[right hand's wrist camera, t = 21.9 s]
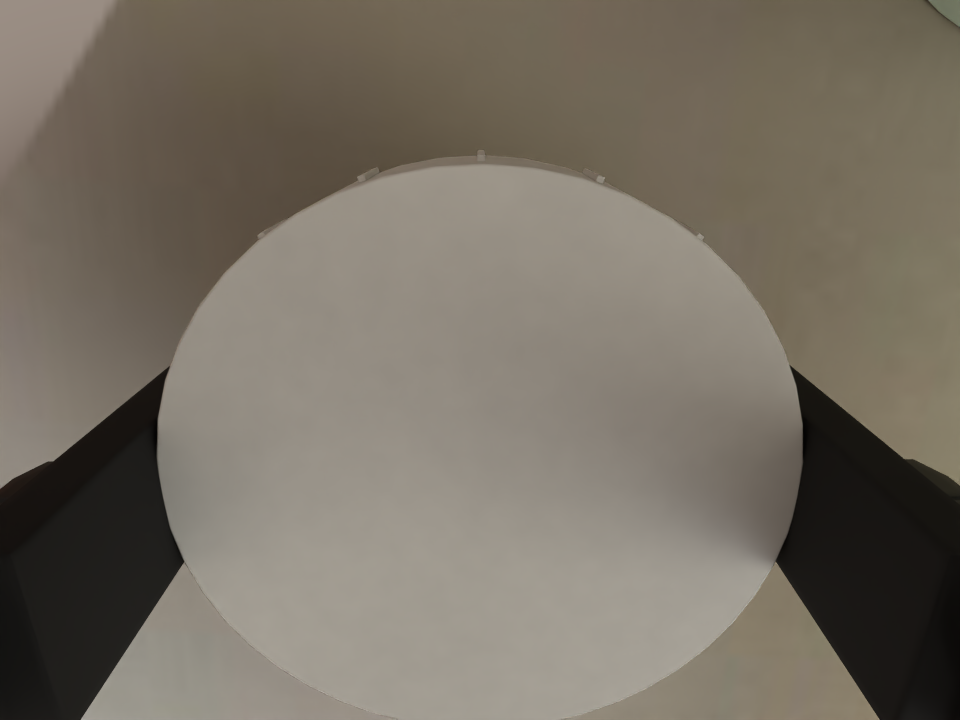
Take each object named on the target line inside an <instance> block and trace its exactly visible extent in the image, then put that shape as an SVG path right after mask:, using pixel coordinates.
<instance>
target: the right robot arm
mask: <svg viewBox="0 0 960 720" xmlns="http://www.w3.org/2000/svg"><path fill="white" fill-rule="evenodd" d="M789 366H790V365H789ZM169 368H170V366H169V367H168V368H167V369H166V370H164V371H163V372H162V373H161V374H159V375H158V376H157V377H156V378H155V379H153V380H152V381H151V382H150V383H148V384H147V385H146V386H145V387H144V388H142V389H141V390H140V391H139V392H138V393H136V394H135V395H134V396H133V397H131V398H130V399H129V400H128V401H127V402H125V403H124V404H123V405H122V406H120V407H119V408H118V409H117V410H116V411H114V412H113V413H112V414H111V415H109V416H108V417H107V418H106V419H105V420H103V421H102V422H101V423H100V424H99V425H97V426H96V427H95V428H94V429H92V430H91V431H90V432H89V433H88V434H86V435H85V436H84V437H83V438H81V439H80V440H79V441H78V442H77V443H75V444H74V445H73V446H72V447H70V448H69V449H68V450H67V451H66V452H64V453H63V454H62V455H61V456H60V457H58V458H57V459H56V460H55V461H53V462H46V463H44V464H42V465H40V466H38V467H36V468H34V469H32V470H30V471H28V472H26V473H24V474H22V475H20V476H18V477H16V478H14V479H12V480H11V481H10V482H9V483H7V484H6V485H5V486H3V487H2V488H1V489H0V720H81V718H82V717H83V715H84V714H85V712H86V711H87V709H88V708H89V706H90V704H91V703H92V701H93V700H94V698H95V697H96V695H97V694H98V692H99V691H100V689H101V688H102V686H103V685H104V683H105V682H106V680H107V679H108V677H109V676H110V674H111V673H112V671H113V669H114V668H115V666H116V665H117V663H118V662H119V660H120V659H121V657H122V656H123V654H124V653H125V651H126V650H127V648H128V647H129V645H130V644H131V642H132V641H133V639H134V637H135V636H136V634H137V633H138V631H139V630H140V628H141V627H142V625H143V624H144V622H145V621H146V619H147V618H148V616H149V615H150V613H151V612H152V610H153V609H154V607H155V606H156V604H157V602H158V601H159V599H160V598H161V596H162V595H163V593H164V592H165V590H166V589H167V587H168V586H169V584H170V583H171V581H172V580H173V578H174V577H175V575H176V574H177V572H178V570H179V569H180V567H181V566H182V564H183V563H184V560H183V557H182V555H181V553H180V550H179V548H178V546H177V543H176V541H175V539H174V536H173V534H172V532H171V529H170V526H169V522H168V517H167V513H166V508H165V503H164V499H163V494H162V489H161V483H160V478H159V473H158V466H157V429H158V415H159V410H160V405H161V400H162V394H163V389H164V384H165V379H166V377H167V374H168V371H169ZM790 369H791V372H792V375H793V378H794V381H795V384H796V388H797V394H798V400H799V406H800V412H801V417H802V423H803V467H802V473H801V479H800V484H799V489H798V495H797V500H796V504H795V509H794V513H793V518H792V521H791V524H790V528H789V531H788V534H787V537H786V539H785V541H784V543H783V545H782V548H781V550H780V552H779V554H778V556H777V559H776V562H777V564H778V565H779V567H780V568H781V570H782V571H783V573H784V574H785V576H786V577H787V579H788V581H789V582H790V584H791V585H792V587H793V588H794V590H795V591H796V593H797V594H798V596H799V597H800V599H801V600H802V602H803V603H804V605H805V606H806V608H807V609H808V611H809V612H810V614H811V616H812V617H813V619H814V620H815V622H816V623H817V625H818V626H819V628H820V629H821V631H822V632H823V634H824V635H825V637H826V638H827V640H828V641H829V643H830V644H831V646H832V648H833V649H834V651H835V652H836V654H837V655H838V657H839V658H840V660H841V661H842V663H843V664H844V666H845V667H846V669H847V670H848V672H849V673H850V675H851V676H852V678H853V679H854V681H855V683H856V684H857V686H858V687H859V689H860V690H861V692H862V693H863V695H864V696H865V698H866V699H867V701H868V702H869V704H870V705H871V707H872V708H873V710H874V711H875V713H876V714H877V716H878V718H879V719H880V720H960V486H959V485H958V484H957V483H956V482H954V481H953V480H952V479H951V478H949V477H948V476H946V475H944V474H942V473H940V472H938V471H936V470H934V469H932V468H930V467H928V466H926V465H924V464H922V463H920V462H917V461H915V460H913V459H903V458H902V457H901V456H900V455H899V454H897V453H896V452H895V451H894V450H892V449H891V448H890V447H889V446H888V445H886V444H885V443H884V442H883V441H881V440H880V439H879V438H878V437H877V436H875V435H874V434H873V433H872V432H870V431H869V430H868V429H867V428H866V427H864V426H863V425H862V424H861V423H860V422H858V421H857V420H856V419H855V418H853V417H852V416H851V415H850V414H849V413H847V412H846V411H845V410H844V409H842V408H841V407H840V406H839V405H838V404H836V403H835V402H834V401H833V400H831V399H830V398H829V397H828V396H827V395H825V394H824V393H823V392H822V391H820V390H819V389H818V388H817V387H816V386H814V385H813V384H812V383H811V382H810V381H808V380H807V379H806V378H805V377H803V376H802V375H801V374H800V373H799V372H797V371H796V370H795V369H794V368H792V367H791V366H790Z"/></svg>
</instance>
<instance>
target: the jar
mask: <svg viewBox="0 0 960 720" xmlns="http://www.w3.org/2000/svg"><path fill="white" fill-rule="evenodd" d="M928 1H929V2H930V3H931V4H932V5H933V6H934V7H935V8H936V9H937V10H938V11H939V12H940V13H941V14H942V15H944V16H945V17H946V18H948V19H949V20H950V21H952V22H953V23H954V24H956V25H957V26H958V27H960V0H928Z"/></svg>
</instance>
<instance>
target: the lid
mask: <svg viewBox="0 0 960 720" xmlns="http://www.w3.org/2000/svg"><path fill="white" fill-rule="evenodd" d="M357 179H358V181H356V182H354V183H352V184H350V185H348V186H346V187H344V188H342V189H340V190H339V191H337V192H335V193H333V194H331V195H329V196H327V197H325V198H323V199H321V200H319V201H318V202H316V203H314V204H312V205H310V206H308V207H307V208H305V209H303V210H301V211H299V212H297V213H296V214H294V215H293V216H291V217H290V218H286V219H284V220H282V221H281V222H279V223H277V224H275V225H273V226H271V227H270V228H268V229H266V230H264V231H262V232H261V233H260V234H259V235H257V237H258V238H259V240H258V241H256V242H255V243H254V244H253V245H252V246H251V247H250V248H249V249H248V250H247V251H246V252H245V253H244V254H243V255H242V256H241V257H240V258H239V259H238V260H237V261H236V262H235V263H234V264H233V265H231V266H230V267H229V268H228V269H227V270H226V271H225V272H224V274H223V275H222V276H221V278H220V279H219V280H218V281H217V283H216V284H215V285H214V287H213V288H212V289H211V291H210V292H209V293H208V295H207V296H206V297H205V298H204V300H203V301H202V302H201V304H200V305H199V306H198V308H197V310H196V312H195V314H194V315H193V317H192V319H191V321H190V323H189V325H188V326H187V328H186V330H185V332H184V334H183V336H182V337H181V339H180V341H179V343H178V346H177V349H176V352H175V354H174V357H173V360H172V363H171V365H170V368H169V371H168V374H167V377H166V379H165V384H164V389H163V394H162V400H161V405H160V410H159V415H158V429H157V466H158V473H159V478H160V483H161V489H162V494H163V499H164V503H165V508H166V513H167V517H168V522H169V526H170V529H171V532H172V534H173V536H174V539H175V541H176V543H177V546H178V548H179V550H180V553H181V555H182V557H183V560H184V562H185V564H186V565H187V567H188V569H189V570H190V572H191V574H192V575H193V577H194V579H195V580H196V582H197V584H198V585H199V587H200V589H201V590H202V592H203V593H204V595H205V596H206V597H207V599H208V600H209V601H210V602H211V604H212V605H213V606H214V607H215V609H216V610H217V611H218V612H219V614H220V615H221V616H222V618H223V619H224V620H225V621H226V622H227V623H228V624H229V625H230V626H231V627H232V628H233V629H234V630H235V631H236V632H237V633H238V634H239V635H240V636H241V637H242V638H243V639H244V640H245V641H246V642H247V643H248V644H249V645H250V646H251V647H253V648H254V649H255V650H256V651H258V652H259V653H260V654H262V655H263V656H264V657H265V658H267V659H268V660H269V661H270V662H272V663H273V664H274V665H276V666H277V667H278V668H280V669H281V670H283V671H285V672H286V673H288V674H290V675H291V676H293V677H294V678H296V679H298V680H299V681H301V682H302V683H304V684H306V685H307V686H309V687H311V688H313V689H315V690H318V691H320V692H322V693H324V694H326V695H328V696H330V697H332V698H334V699H336V700H338V701H341V702H343V703H346V704H349V705H352V706H354V707H357V708H360V709H363V710H365V711H368V712H371V713H374V714H378V715H382V716H386V717H390V718H394V719H398V720H561V719H566V718H570V717H574V716H578V715H582V714H585V713H588V712H591V711H594V710H597V709H600V708H603V707H605V706H608V705H611V704H614V703H617V702H619V701H621V700H623V699H625V698H627V697H630V696H632V695H634V694H636V693H638V692H640V691H642V690H645V689H647V688H649V687H650V686H652V685H654V684H655V683H657V682H659V681H660V680H662V679H664V678H665V677H667V676H669V675H670V674H672V673H674V672H675V671H677V670H679V669H680V668H681V667H683V666H684V665H685V664H686V663H688V662H689V661H690V660H692V659H693V658H694V657H696V656H697V655H698V654H700V653H701V652H702V651H704V650H705V649H706V648H707V647H708V646H709V645H710V644H711V643H712V642H714V641H715V640H716V639H717V638H718V637H719V636H720V635H721V634H722V633H723V632H724V631H725V630H726V629H727V628H728V627H729V626H730V625H731V624H732V623H733V622H734V621H735V619H736V618H737V617H738V616H739V615H740V613H741V612H742V611H743V610H744V608H745V607H746V606H747V605H748V603H749V602H750V601H751V600H752V599H753V597H754V596H755V594H756V593H757V591H758V590H759V588H760V586H761V585H762V583H763V582H764V580H765V578H766V577H767V575H768V574H769V572H770V570H771V569H772V567H773V565H774V563H775V561H776V559H777V556H778V554H779V552H780V550H781V548H782V545H783V543H784V541H785V539H786V537H787V534H788V531H789V528H790V524H791V521H792V518H793V513H794V509H795V504H796V500H797V495H798V489H799V484H800V479H801V473H802V467H803V423H802V417H801V412H800V406H799V400H798V394H797V388H796V384H795V381H794V378H793V375H792V372H791V369H790V366H789V363H788V360H787V357H786V354H785V351H784V348H783V346H782V344H781V342H780V340H779V338H778V336H777V334H776V332H775V330H774V328H773V326H772V325H771V323H770V321H769V319H768V317H767V315H766V313H765V311H764V310H763V308H762V307H761V306H760V304H759V303H758V301H757V300H756V299H755V297H754V296H753V295H752V293H751V292H750V291H749V289H748V288H747V286H746V285H745V284H744V282H743V281H742V280H741V278H740V277H739V276H738V275H737V274H736V273H735V272H734V271H733V270H732V269H731V268H730V267H729V266H728V265H727V264H726V263H725V262H724V261H723V260H722V259H721V258H720V257H719V256H718V255H717V254H716V253H715V252H714V251H713V250H712V249H711V248H710V247H709V246H708V245H707V244H706V243H704V242H703V241H702V240H703V238H704V236H703V235H702V234H700V233H699V232H697V231H695V230H693V229H692V228H690V227H688V226H686V225H684V224H682V223H681V222H679V221H677V220H675V219H672V218H671V217H669V216H667V215H665V214H664V213H662V212H660V211H658V210H656V209H654V208H653V207H651V206H649V205H647V204H645V203H644V202H642V201H640V200H638V199H636V198H634V197H632V196H631V195H629V194H627V193H625V192H623V191H621V190H620V189H618V188H616V187H614V186H612V185H610V184H608V183H607V182H605V181H604V180H605V177H603V176H601V175H599V174H597V173H595V172H593V171H591V170H589V169H587V168H584V169H583V172H582V173H580V172H578V171H575V170H572V169H570V168H567V167H563V166H558V165H554V164H549V163H545V162H540V161H536V160H531V159H527V158H517V157H504V156H491V155H485V151H484V150H478V151H477V155H472V156H455V157H440V158H435V159H430V160H425V161H420V162H415V163H410V164H405V165H400V166H397V167H394V168H391V169H388V170H385V171H383V172H380V173H379V169H378V167H376V168H373V169H371V170H369V171H367V172H365V173H363V174H361V175H359V176H357Z"/></svg>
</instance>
